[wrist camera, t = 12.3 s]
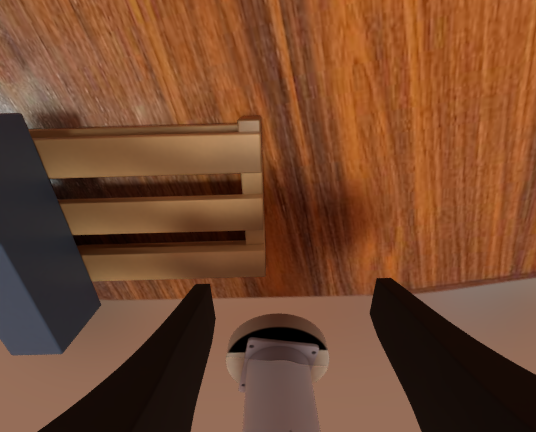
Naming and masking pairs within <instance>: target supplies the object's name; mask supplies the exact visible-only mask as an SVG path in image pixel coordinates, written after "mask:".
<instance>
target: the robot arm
mask: <svg viewBox="0 0 536 432" xmlns="http://www.w3.org/2000/svg"><path fill="white" fill-rule="evenodd" d="M370 316H371V319H372V322H373V325H374V328H375V330H376V333H377V336H378V338H379V340H380V342H381V344H382V346H383V348H384V351H385V353H386V355H387V357H388V359H389V361H390V363H391V365H392V367H393V369H394V371H395V373H396V375H397V377H398V379H399V381H400V383H401V385H402V387H403V389H404V391H405V393H406V395H407V397H408V400H409V402H410V404H411V406H412V409H413V411H414V414H415V416H416V419H417V421H418V424H419V426H420V429H421V431H422V432H536V375H535V374H533V373H531V372H530V371H528V370H526V369H524V368H522V367H521V366H519V365H517V364H515V363H514V362H512V361H510V360H508V359H507V358H505V357H503V356H502V355H500V354H498V353H496V352H495V351H493V350H492V349H490V348H488V347H487V346H485V345H484V344H482V343H480V342H479V341H477V340H476V339H474V338H473V337H471V336H470V335H468V334H467V333H465V332H464V331H462V330H461V329H459V328H458V327H456V326H455V325H453V324H452V323H451V322H449V321H448V320H446V319H445V318H443V317H442V316H441V315H439V314H438V313H437V312H435V311H434V310H433V309H431V308H430V307H429V306H427V305H426V304H424V303H423V302H422V301H421V300H419V299H418V298H417V297H415V296H414V295H413V294H412V293H410V292H409V291H408V290H406V289H405V288H404V287H402V286H401V285H400V284H398V283H397V282H396V281H394V280H393V279H392V278H377V279H376V284H375V289H374V294H373V299H372V304H371V309H370ZM215 319H216V318H215V312H214V306H213V300H212V294H211V288H210V284H196V285H194V286H193V288H192V289H191V290H190V291H189V293H188V294H187V295H186V296H185V298H184V299H183V300H182V301H181V303H180V304H179V305H178V306H177V308H176V309H175V310H174V311H173V312H172V313H171V315H170V316H169V317H168V318H167V319H166V320H165V321H164V323H163V324H162V325H161V326H160V327H159V328H158V329H157V330H156V331H155V332H154V333H153V334H152V336H151V337H150V338H149V339H148V340H147V341H146V342H145V343H144V344H143V345H142V346H141V347H140V348H139V349H138V350H137V351H136V352H135V353H134V354H133V355H132V356H131V357H130V358H129V359H128V360H127V361H126V362H125V363H123V364H122V365H121V366H120V367H119V368H118V369H117V370H116V371H114V372H113V373H112V374H111V375H110V376H109V377H108V378H106V379H105V380H104V381H103V382H101V383H100V384H99V385H98V386H97V387H95V388H94V389H93V390H92V391H91V392H89V393H88V394H87V395H86V396H85V397H83V398H82V399H81V400H79V401H78V402H77V403H76V404H74V405H73V406H72V407H70V408H69V409H68V410H67V411H65V412H64V413H62V414H61V415H60V416H58V417H57V418H56V419H54V420H53V421H52V422H50V423H49V424H48V425H46V426H45V427H43V428H42V429H40V430H39V431H38V432H190V431H191V426H192V421H193V415H194V410H195V406H196V401H197V398H198V394H199V390H200V386H201V382H202V379H203V375H204V371H205V367H206V363H207V359H208V356H209V352H210V348H211V344H212V339H213V333H214V326H215ZM318 351H319V346H318V345H317V344H311V343H301V342H292V341H282V340H273V339H263V338H254V337H251V338H249V339H248V342H247V347H246V352H245V357H244V363H243V368H242V373H241V378H240V383H239V391H240V392H245V404H244V418H243V432H320V427H319V421H318V415H317V409H316V404H315V397H314V391H313V385H312V379H311V373H310V372H311V370H312V367H313V364H314V362H315V359H316V357H317V354H318Z"/></svg>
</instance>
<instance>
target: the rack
mask: <svg viewBox="0 0 536 432" xmlns="http://www.w3.org/2000/svg"><path fill="white" fill-rule="evenodd" d="M28 130H29V133H30V135H31V137H32V140H33V142H34V145H35V147H36V149H37V152H38V154H39V157H40V159H41V161H42V164H43V166H44V169H45V171H46V173H47V176H48V178H49V179H57V178H93V177H130V176H167V175H204V174H241V182H242V194H236V195H200V196H163V197H126V198H90V199H57V200H58V202H59V205H60V207H61V209H62V212H63V214H64V217H65V219H66V221H67V224H68V226H69V229H70V231H71V233H72V235H97V234H133V233H170V232H206V231H243V230H245V237H246V240H239V241H203V242H166V243H130V244H93V245H77V248H78V250H79V253H80V255H81V257H82V260H83V262H84V265H85V267H86V269H87V272H88V274H89V277H90V279H91V281H121V280H157V279H194V278H230V277H265V276H266V246H265V216H264V186H263V157H262V127H261V116H243V117H241V118H240V119H239V120H237V124H202V125H165V126H128V127H91V128H54V129H28Z"/></svg>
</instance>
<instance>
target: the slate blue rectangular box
mask: <svg viewBox="0 0 536 432" xmlns="http://www.w3.org/2000/svg"><path fill="white" fill-rule="evenodd" d="M100 306H101V303H100V301H99V298H98V296H97V293H96V291H95V289H94V286H93V284H92V281H91V279H90V277H89V274H88V272H87V269H86V267H85V265H84V262H83V260H82V257H81V255H80V253H79V250H78V248H77V245H76V243H75V241H74V238H73V236H72V233H71V231H70V229H69V226H68V224H67V221H66V219H65V217H64V214H63V212H62V209H61V207H60V205H59V202H58V200H57V197H56V195H55V193H54V190H53V188H52V185H51V183H50V181H49V178H48V176H47V173H46V171H45V169H44V166H43V164H42V161H41V159H40V157H39V154H38V152H37V149H36V147H35V145H34V142H33V140H32V137H31V135H30V133H29V130H28V128H27V125H26V123H25V121H24V118H23V116H22V114H20V113H1V114H0V339H1V341H2V342H3V344H4V345H5V346H6V348H7V349H8V351H9V352H10V354H11V355H43V354H44V355H45V354H62V353H63V352H64V351H65V350H66V349H67V347H68V346H69V345H70V344H71V342H72V341H73V340H74V339H75V337H76V336H77V335H78V334H79V332H80V331H81V330H82V328H83V327H84V326H85V325H86V324H87V322H88V321H89V320H90V319H91V317H92V316H93V315H94V313H95V312H96V311H97V310H98V308H99V307H100Z"/></svg>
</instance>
